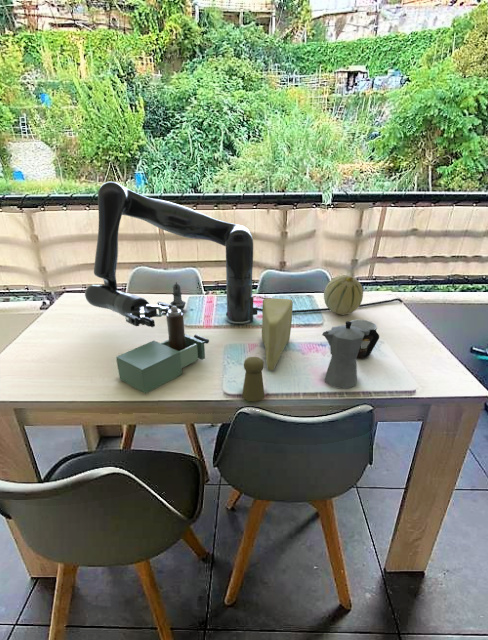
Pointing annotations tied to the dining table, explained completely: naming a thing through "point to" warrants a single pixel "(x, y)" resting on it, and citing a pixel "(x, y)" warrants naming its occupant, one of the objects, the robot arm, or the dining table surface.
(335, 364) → the coffeepot
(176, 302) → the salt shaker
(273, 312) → the cheese
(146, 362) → the cabinet
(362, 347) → the coffee mug
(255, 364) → the olive rounded tall piece
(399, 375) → the dining table surface
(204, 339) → the drawer
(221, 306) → the dining table surface
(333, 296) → the cantaloupe
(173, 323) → the pepper mill
